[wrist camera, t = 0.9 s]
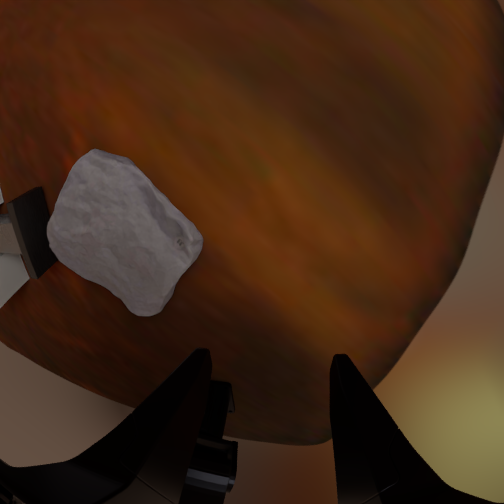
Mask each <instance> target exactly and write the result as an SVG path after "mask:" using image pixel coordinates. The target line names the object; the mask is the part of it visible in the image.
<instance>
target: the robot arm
mask: <svg viewBox="0 0 504 504" xmlns="http://www.w3.org/2000/svg"><path fill="white" fill-rule="evenodd" d="M211 373H212V361H211V356H210V351H209V349H207V348H196V349H195V350H194V351H193V352H192V353H191V354H190V355H189V356H188V357H187V358H186V359H185V360H184V361H183V362H182V363H181V364H180V365H179V366H178V367H177V368H176V369H175V370H174V371H173V372H172V373H171V374H170V375H169V376H168V377H167V378H166V379H165V380H164V381H163V382H162V383H161V384H160V385H159V386H158V387H157V388H156V389H155V390H154V391H153V392H152V393H151V394H150V395H149V396H148V397H147V398H146V399H145V400H144V401H143V402H142V403H141V404H140V405H139V406H138V407H137V408H136V409H135V410H134V411H133V412H132V413H131V414H129V415H128V416H127V417H126V418H125V419H124V420H123V421H122V422H121V423H120V424H119V425H118V426H117V427H116V428H114V429H113V430H112V431H111V432H109V433H108V434H107V435H106V436H105V437H103V438H102V439H100V440H99V441H98V442H96V443H95V444H94V445H92V446H91V447H90V448H88V449H87V450H85V451H84V452H82V453H81V454H80V455H78V456H76V457H74V458H72V459H70V460H68V461H64V462H59V463H52V464H46V465H38V466H30V467H12V466H10V465H8V464H7V463H6V462H4V461H3V460H1V459H0V504H223V502H224V499H225V494H226V493H229V492H230V491H231V489H232V487H233V485H234V482H235V478H236V471H237V448H238V442H236V441H228V440H224V439H222V437H223V432H224V427H225V422H226V417H227V413H234V412H235V406H234V400H233V394H232V387H231V384H229V383H226V382H216V381H210V379H211ZM330 422H331V431H332V439H333V450H334V459H335V471H336V482H337V495H338V496H337V498H338V504H504V503H495V502H491V501H488V500H485V499H482V498H479V497H475V496H473V495H470V494H467V493H464V492H461V491H459V490H456V489H454V488H452V487H451V486H449V485H448V484H446V483H445V482H444V481H443V480H442V479H441V478H440V477H439V476H438V475H437V474H436V473H435V472H434V471H433V469H432V468H431V467H430V466H429V465H428V464H427V463H426V462H425V461H424V459H423V458H422V457H421V456H420V455H419V454H418V453H417V452H416V450H415V449H414V448H413V447H412V445H411V444H410V443H409V441H408V440H407V438H406V437H405V436H404V434H403V433H402V432H401V430H400V429H398V426H397V424H396V423H395V421H394V420H393V419H392V417H391V416H390V414H389V413H388V411H387V410H386V409H385V407H384V406H383V404H382V403H381V402H380V400H379V399H378V397H377V396H376V394H375V393H374V392H373V390H372V389H371V387H370V386H369V385H368V383H367V382H366V380H365V379H364V378H363V376H362V375H361V373H360V372H359V371H358V369H357V368H356V366H355V365H354V364H353V362H352V361H351V359H350V358H349V357H348V355H346V354H335V355H334V357H333V360H332V364H331V368H330Z"/></svg>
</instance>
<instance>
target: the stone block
mask: <svg viewBox="0 0 504 504" xmlns="http://www.w3.org/2000/svg"><path fill="white" fill-rule="evenodd" d="M47 237H48V240H49V243H50V244H49V246H50V248H51V249H52V251H53V252H54V253H55V255H56V257H57V258H58V259H59V261H60V262H61V263H63V264H64V265H66V266H67V267H68V268H69V269H71V270H73V271H74V272H75V273H76V274H78V275H80V276H81V277H83V278H85V279H87V280H90V281H93V282H95V283H98V284H100V285H102V286H103V287H105V288H107V289H108V290H110V291H111V292H112V294H114V295H115V296H117V297H118V298H120V299H121V300H122V301H123V302H124V304H125V305H126V306H127V308H128V309H129V310H130V311H131V312H132V313H134V314H136V315H138V316H152V315H155V314H157V313H159V312H161V311H162V309H163V307H164V306H165V305H166V303H167V302H168V301H169V299H170V298H171V297H172V295H173V292H174V289H175V285H176V283H177V282H178V280H179V279H180V277H181V275H182V274H183V273H184V272H185V271H186V270H187V269H188V268H189V266H190V265H191V264H192V263H193V262H194V261H195V260H196V259H197V257H198V255H199V254H200V252H201V250H202V243H203V237H202V235H201V234H200V233H199V231H198V230H197V229H196V227H195V226H194V224H193V223H192V222H190V221H189V220H188V219H187V218H186V217H185V216H184V215H183V214H182V213H181V212H180V211H179V210H178V209H177V208H175V207H174V206H173V205H172V204H171V203H170V201H169V199H168V198H167V197H166V196H165V195H164V194H163V193H161V192H160V191H159V190H158V189H157V188H156V187H155V186H154V185H153V184H152V182H151V181H150V180H149V179H148V178H147V177H146V176H145V174H143V172H142V171H140V170H139V169H138V168H137V167H136V166H135V164H134V163H133V162H132V161H131V160H130V159H129V158H126V157H122V156H118V155H114V154H110V153H107V152H105V151H101V150H98V149H93V150H90V151H89V152H88V153H87V154H85V155H84V156H83V157H81V158H80V159H79V160H78V161H77V162H76V163H75V165H74V166H73V167H72V169H71V171H70V173H69V175H68V178H67V180H66V182H65V184H64V186H63V188H62V190H61V192H60V195H59V197H58V200H57V202H56V204H55V210H54V212H53V214H52V216H51V218H50V220H49V222H48V225H47Z"/></svg>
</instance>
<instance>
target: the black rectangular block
mask: <svg viewBox="0 0 504 504" xmlns="http://www.w3.org/2000/svg"><path fill="white" fill-rule="evenodd" d="M6 205H7V209H8V212H9V213H8V214H0V253H14V254H22V256H23V258H24V261H25V264H26V266H27V269H28V271H29V274H30V276H31V278H33V279H38V278H39V277H41V276H42V275H43V274H44V273H45V272H46V271H47V270H48V269H49V268H50V267H51V266H52V265H53V264H54V263H55V262H56V261H57V260H59V259H58V258H57V257H56V255H55V253H54V252H53V251H52V249H51V248H50V246H49V244H50V243H49V240H48V237H47V225H48V222H49V220H50V219H49V215H48V211H47V207H46V203H45V199H44V195H43V190H42V186H41V187H35V188H33V189H31V190H30V191H28V192H26V193H24V194H22V195H21V196H19V197H17V198H15V199H14V200H12V201H10V202H8V203H7V204H6Z"/></svg>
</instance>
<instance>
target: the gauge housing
mask: <svg viewBox="0 0 504 504" xmlns="http://www.w3.org/2000/svg"><path fill="white" fill-rule="evenodd" d="M3 202H4V201H3V197H2V193H1V189H0V204H1V203H3ZM28 279H30V278H29V276H28V274H27V271H26V269H25V266H24V264H23V261H22V258H21V256H20V254H14V253H0V308H1V307H2V306H3V305H4V304H5V303H6V302H7V301H8V300H9V299H10V297H11V296H12V295H13V294H14V293H15V292H16V291H17V290H18V289H19V288H20V287H21V286H22V285H23V284H24V283H25V282H26V281H27V280H28Z"/></svg>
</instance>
